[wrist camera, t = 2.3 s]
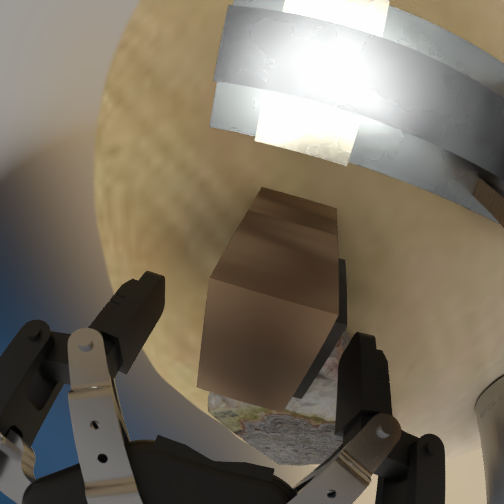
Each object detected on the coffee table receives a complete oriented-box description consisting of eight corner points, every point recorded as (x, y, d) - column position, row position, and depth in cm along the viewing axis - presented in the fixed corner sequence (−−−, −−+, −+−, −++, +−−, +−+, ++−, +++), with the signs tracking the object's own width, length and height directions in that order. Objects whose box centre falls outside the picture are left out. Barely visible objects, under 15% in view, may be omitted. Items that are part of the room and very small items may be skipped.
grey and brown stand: (574, 123, 8) (677, 180, 1) (530, 240, 13) (603, 344, 5) (245, -24, 10) (148, -112, 2) (214, 128, 15) (96, 191, 7)
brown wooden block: (240, 283, 19) (196, 387, 13) (262, 187, 16) (209, 277, 9) (311, 303, 19) (295, 415, 12) (347, 212, 15) (357, 320, 9)
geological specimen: (285, 470, 25) (185, 405, 19) (295, 421, 30) (210, 341, 24) (391, 461, 20) (333, 390, 14) (391, 405, 25) (337, 308, 19)
